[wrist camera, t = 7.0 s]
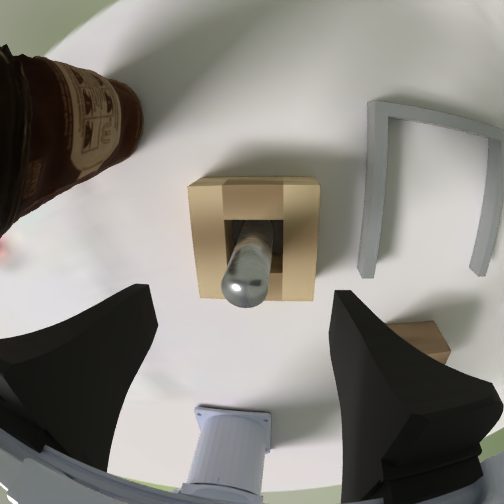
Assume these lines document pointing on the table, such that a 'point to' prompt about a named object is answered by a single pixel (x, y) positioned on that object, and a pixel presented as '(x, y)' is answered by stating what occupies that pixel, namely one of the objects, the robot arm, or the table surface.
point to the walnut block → (424, 338)
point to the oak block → (256, 208)
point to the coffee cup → (58, 130)
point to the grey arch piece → (497, 180)
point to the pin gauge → (249, 265)
